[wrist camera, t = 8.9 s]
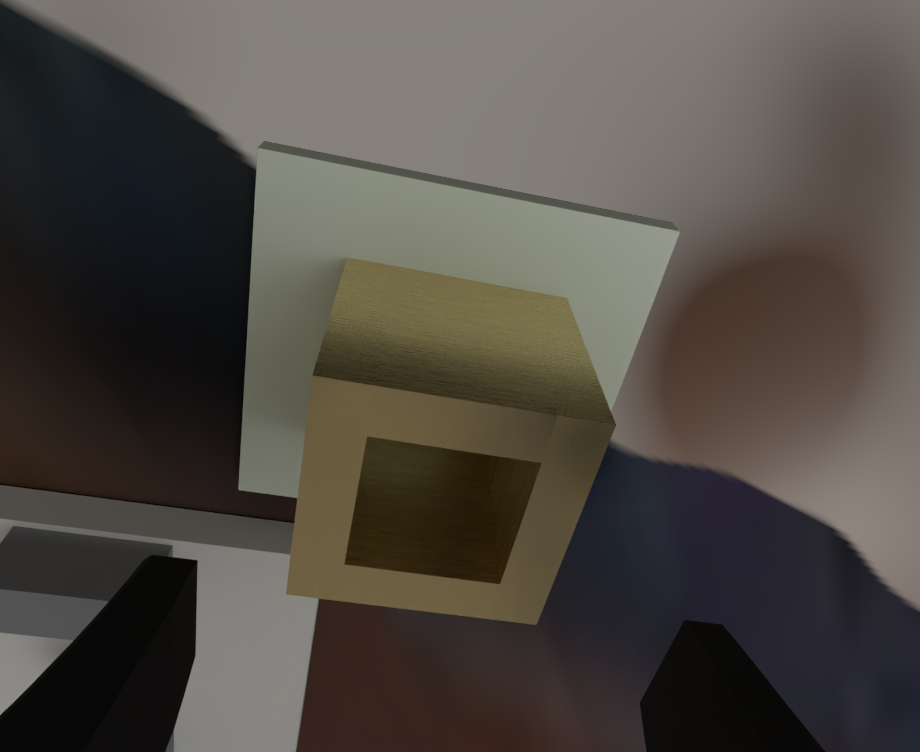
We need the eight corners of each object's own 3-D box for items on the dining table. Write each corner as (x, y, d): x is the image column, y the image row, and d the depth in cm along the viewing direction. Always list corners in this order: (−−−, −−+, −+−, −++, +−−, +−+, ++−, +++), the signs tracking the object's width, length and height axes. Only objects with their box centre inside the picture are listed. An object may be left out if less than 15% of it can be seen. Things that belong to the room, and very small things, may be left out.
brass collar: (566, 298, 16) (615, 424, 12) (512, 468, 18) (536, 625, 14) (347, 257, 15) (312, 375, 11) (322, 439, 18) (286, 594, 13)
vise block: (329, 528, 20) (295, 712, 15) (299, 731, 25) (266, 919, 20) (-124, 468, 18) (-327, 653, 14) (-60, 698, 23) (-190, 893, 19)
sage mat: (672, 222, 16) (680, 231, 15) (561, 519, 20) (564, 534, 20) (263, 140, 14) (257, 147, 14) (243, 475, 19) (238, 489, 18)
